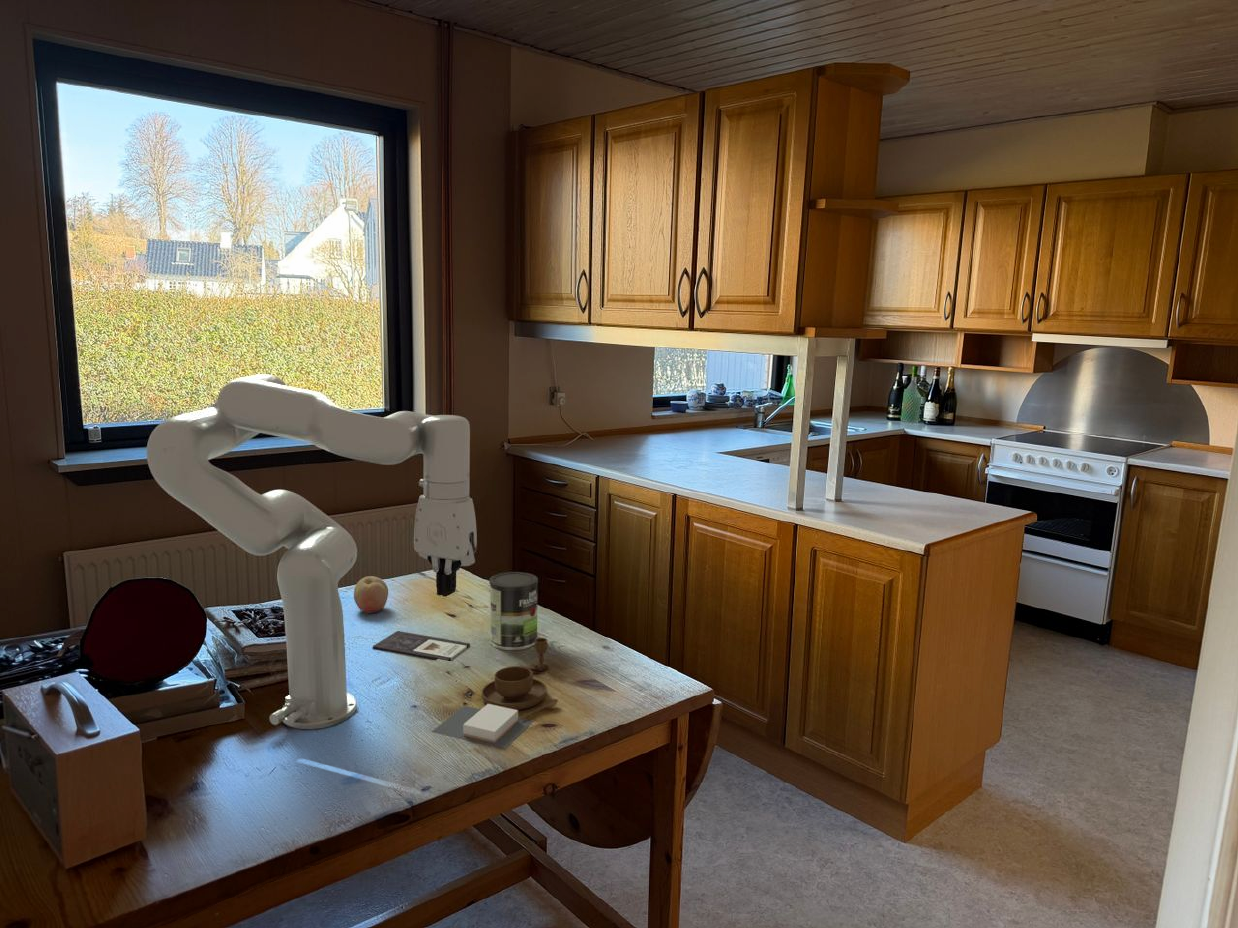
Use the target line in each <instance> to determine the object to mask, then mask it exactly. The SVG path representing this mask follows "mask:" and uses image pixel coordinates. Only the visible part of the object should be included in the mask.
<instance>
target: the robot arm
mask: <svg viewBox="0 0 1238 928" xmlns="http://www.w3.org/2000/svg"><path fill="white" fill-rule="evenodd" d="M216 399H217V400H216V402H214V403H213V404H211V405H210V406H208V407H206V408H204V409H203V408H202V409H200V410H194V411H191V412H187V413H183V414H178V415H175V416H172V417H170V418H168V419H166V420H164V421H162V422H161V423H159V424H158V425H157V426H156V427H155V428H154V429H153V430H152V431H151V433H150V435H149V438H148V441H147V445H146V460H147V464H148V468H149V470H150V474H151V475H152V477H153V478H154V480H155V482H156V483H157V484H158V485H159V487H161V488H162V489H163V490H164V491H165V492H166V493H167V494H168V495H169V496H171V497H172V498H173V499H175V500H176V501H177V502H179V503H180V504H182V505H184V506H185V507H187V508H188V509H190V511H192V512H194V513H196V514H197V515H198V516H200V517H201V518H202V519H203V520H205V521H206V522H207V524H208V525H210V526H212V527H213V528H215V530H217V531H219V532H220V533H221V534H222V535H224V536H225V537H227V538H228V539H230V541H232V542H233V543H234V544H235V545H237V546H238V547H240V548H241V549H242V550H244V551H245V552H247V553H248V554H251V555H254V556H267V555H269V554H272V553H275V552H276V551H278V550H279V549H281V548H282V547H285V548H286V549H287V550H286V552H285V553H284V554H283V556H282V557H281V559H280V561H279V564H278V566H277V572H276V573H277V575H276V577H277V579H276V581H277V585H278V589H279V594H280V598H281V602H282V607H283V608H282V609H283V616H284V618H283V619H284V631H285V640H286V644H285V646H286V658H287V660H286V661H287V677H288V693H289V695H287V696H285V699H284V700H285V703H284V704H283V705H282V708H281V709H278V710H276V711H275V712H273V713H271V714H270V715H269V717H268V718H269V722H270V723H271V724H272V725H274V726H276V725H278V724H280V723H281V722H282V723H283V724H285V725H286V726H288V727H290V728H294V729H298V730H299V729H300V730H316V729H323V728H327V727H328V728H329V727H332V726H335V725H338V724H341V723H342V722H345V721H346V720H348V719H349V718H351V717H352V716H353V714H355V712H356V711H357V707H358V705H357V700H356V697H354V695H352V694H351V693H349V692H348V690H347V686H348V685H347V670H346V669H347V666H346V665H347V664H346V645H345V643H346V642H345V625H344V623H345V622H344V611H343V604H342V600H341V596H340V592H339V587H338V586H339V585H338V584H339V581H340V580H341V579H342V578H343V577H344V576H345V575H346V574H347V573H348V572H349V571H350V570H351V569H352V568H353V566H354V564H355V563H356V561H357V557H358V548H357V544H356V541H355V540H354V538H353V537H352V535H351V534H350V533H349V532H348V531H347V530H346V529H345V527H343V526H341V525H340V524H339V523H338V522H336V521H335V520H334V519H333V518H331V517H330V516H329V515H327V514H326V513H325V512H323V511H322V510H321V509H320V508H318V507H317V506H316V505H314V504H313V503H311V502H310V501H309V500H307V499H306V498H304V497H303V496H301V495H299V494H298V493H295V492H293V491H290V490H286V489H273V490H269V491H268V492H265V493H262V494H261V493H258V492H257V491H255V490H253V488H251V487H249V486H248V485H246V484H245V483H244V482H242V480H240V479H239V478H238V477H236V476H235V475H234V474H231V473H230V472H228V471H226V470H223V469H221V468H219V467H217V466H215V465H213V464H212V463H210V460H212V459H215V458H217V457H221V456H223V455H225V454H227V453H229V452H232V451H233V450H234V449H235V450H236V449H237V448H238V447H239V446H242V444H245V443H246V442H248V441H249V440H251V439H253V438H254V437H256V436H257V435H259V434H265V435H270V436H273V437H274V436H275V437H280V438H286V439H291V440H294V441H299V442H303V443H308V444H311V445H314V446H315V447H317V448H319V449H322V450H325V451H327V452H329V453H332V454H334V455H337V456H340V457H344V458H347V459H348V458H349V459H352V460H357V461H362V462H368V463H373V464H378V465H385V466H386V465H388V466H389V465H390V466H391V465H397V464H398V465H399V464H401V463H403V462H404V461H406V460H407V459H409V458H411V457H413V456H416V455H418V454H422V455H423V478H420V480H419V481H418V486H419V487H421V488H423V494H421V495H419V497H418V502H417V505H416V509H415V516H414V517H415V519H414V527H413V548H414V551H415V552H417V554H418V556H419V557H421V558H423V559H425V560H428V562H429V563H430V565H431V566H432V571H433V572H434V573H435V576H436V577H435V586H436V595H437V596H440V597H441V596H442V597H444V598H446V597H448V596H451V594H454V593H455V592H456V588H457V571H459V570H460V568H461V567H469V566H471V565H473V564H475V562H476V559H475V553H476V551H477V545H478V543H477V542H478V541H477V539H478V538H477V537H478V536H477V533H478V532H477V519H476V510H475V506H474V501H473V498H471V497H470V466H471V465H470V461H471V460H470V457H471V454H470V453H471V452H470V451H471V447H470V445H471V442H470V441H471V429H470V428H471V427H470V421H469V420H468V419H467V418H466V417H463V416H460V415H454V414H453V415H452V414H438V415H436V414H435V415H431V414H427V413H426V414H425V413H421V412H417V411H416V412H415V411H409V410H401V411H397V412H394V413H392V414H389V415H387V416H384V417H381V416H375V415H371V414H366V413H365V414H364V413H360V412H357V411H353V410H349V409H345V408H342V407H340V406H338V405H336V404H335V403H334V402H332V400H330V398H329V397H328V396H327V395H326V394H325V393H323V392H319V391H314V390H309V389H305V388H299V387H294V386H290V385H287V384H286V383H285V382H284V381H283V380H282V379H280V378H279V377H276V376H274V375H272V374H264V373H263V374H262V373H261V374H255V375H249V376H243V377H239V378H236V379H233V380H231V381H229V382H228V383H226V384H225V385H223V387H221V390H220V391H219V393H218V396H217V398H216Z"/></svg>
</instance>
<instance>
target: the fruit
mask: <svg viewBox="0 0 1238 928" xmlns="http://www.w3.org/2000/svg"><path fill="white" fill-rule="evenodd" d="M353 599H354V600H353V601H354V602H355V605H356V606H357V607H358V609H359V610H360V611H362V612H363V613H366V614H372V613H377V612H379V611H381V610H382V609H384V607H385V606H386V604H387V601H388V599H389V588H388V586H387V583H386V582H385V581H384V580H383V579H382V578H380V577H377V576H373V575H370V576H368V575H367V576H364V577H363V578H361V579H360V580H359V581H357V583H356V585H355V586H354V589H353Z"/></svg>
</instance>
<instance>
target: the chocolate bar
mask: <svg viewBox="0 0 1238 928" xmlns="http://www.w3.org/2000/svg"><path fill="white" fill-rule="evenodd" d="M469 647H471V646H470V643H468V642H465V641H464V642H463V641H457V640H451V639H446V638H441V637H440V638H439V637H434V636H429V635H422V634H417V633H412V632H406V631H400V630H397V631H394V632H393V633H392V634H390V635H388V636H387V637H385V638H384V639H382V640H380V641H379V642H377V643H375V644H374V645H373V646H372V649H373V650H378V651H382V652H388V653H392V654H393V653H394V654H400V655H403V656H411V657H416V658H422V659H427V660H433V661H437V660H441V661H445V662H446V661H447V662H451V661H452V660H453V659H454V658H456V657H457V656H458V655H459V654H461V653H462V652H464V651H465V650H466V649H467V648H469Z"/></svg>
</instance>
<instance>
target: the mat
mask: <svg viewBox="0 0 1238 928" xmlns="http://www.w3.org/2000/svg"><path fill="white" fill-rule="evenodd" d="M481 709H482V708H476V707H472V706H469V705H468V706H467V705H463V706H461V707H460V708H459V709H458V710H457V711H456V712H454V713H453V714H452V715H450V716H449V717H448V718H447V719H446V720H445V721H443V722H442V723H440V725H438V726H437V727H436V728H435V729H433V730H431V732H432V733H436V734H439V735H443V736H448V737H452V738H456V739H461V740H464V741H468V742H469V741H470V742H473V743H478V744H482V745H485V746H489V747H494V748H497V749H498V748H499V749H502V750H506V749H507V748H508V747H509V746H510V745H511V744H512V743H513V742H514V741H516V740H517V738H518V737H520V736H521V734H522V733H523V732H524V731H525V730H527V728H528V727H529V726H530V725H532V723H534V720H529V719H526V718H523V719H520V718H521V717H518V721H517V722H516V723H515V724H514V725H513V726H512V727H511V728H510V729H509V730H508V731H507V732H506V733H505V734H504V735H503V736H502V737H501V738H500V739H498V740H497V741H496V742H495V743H493V742H489V741H484V740H480V739H476V738H472V737H468V736H464V735H463V724H464V723H466V722H467V721H468V720H469V719H470V718H471V717H473V716H474V715H475V714H476V713H477V712H479V711H480V710H481Z"/></svg>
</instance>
